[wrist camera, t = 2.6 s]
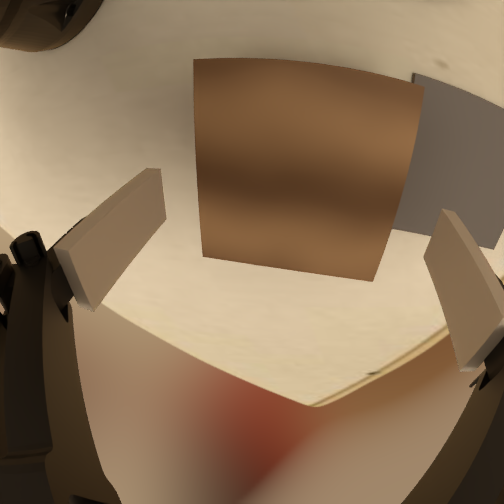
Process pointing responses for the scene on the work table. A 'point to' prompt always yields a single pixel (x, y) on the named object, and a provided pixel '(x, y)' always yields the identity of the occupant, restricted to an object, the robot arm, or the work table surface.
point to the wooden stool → (301, 162)
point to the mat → (455, 164)
